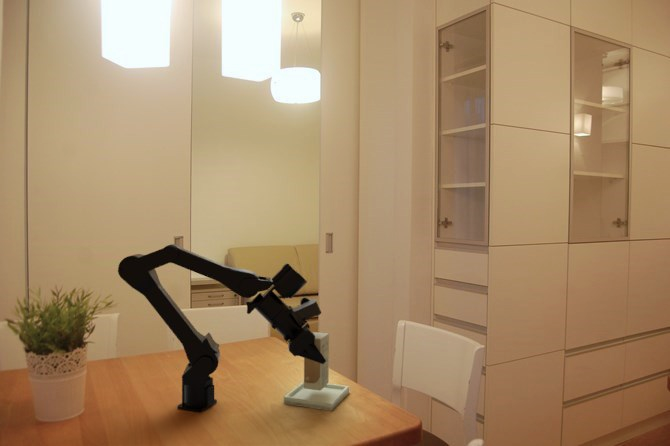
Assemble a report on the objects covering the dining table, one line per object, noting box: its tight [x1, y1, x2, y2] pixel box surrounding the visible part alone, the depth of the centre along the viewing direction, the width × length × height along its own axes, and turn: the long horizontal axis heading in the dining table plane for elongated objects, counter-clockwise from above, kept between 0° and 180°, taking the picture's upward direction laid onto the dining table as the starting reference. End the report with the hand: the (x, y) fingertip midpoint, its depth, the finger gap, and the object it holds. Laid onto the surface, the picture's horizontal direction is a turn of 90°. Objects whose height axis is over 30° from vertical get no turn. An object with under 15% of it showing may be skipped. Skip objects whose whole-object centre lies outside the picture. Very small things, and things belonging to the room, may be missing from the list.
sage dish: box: [283, 380, 350, 412], centre depth 111 cm, size 12×12×2 cm
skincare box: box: [303, 331, 330, 391], centre depth 111 cm, size 6×4×12 cm
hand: (322, 357), depth 112 cm, fingers closed on skincare box, 7 cm apart
